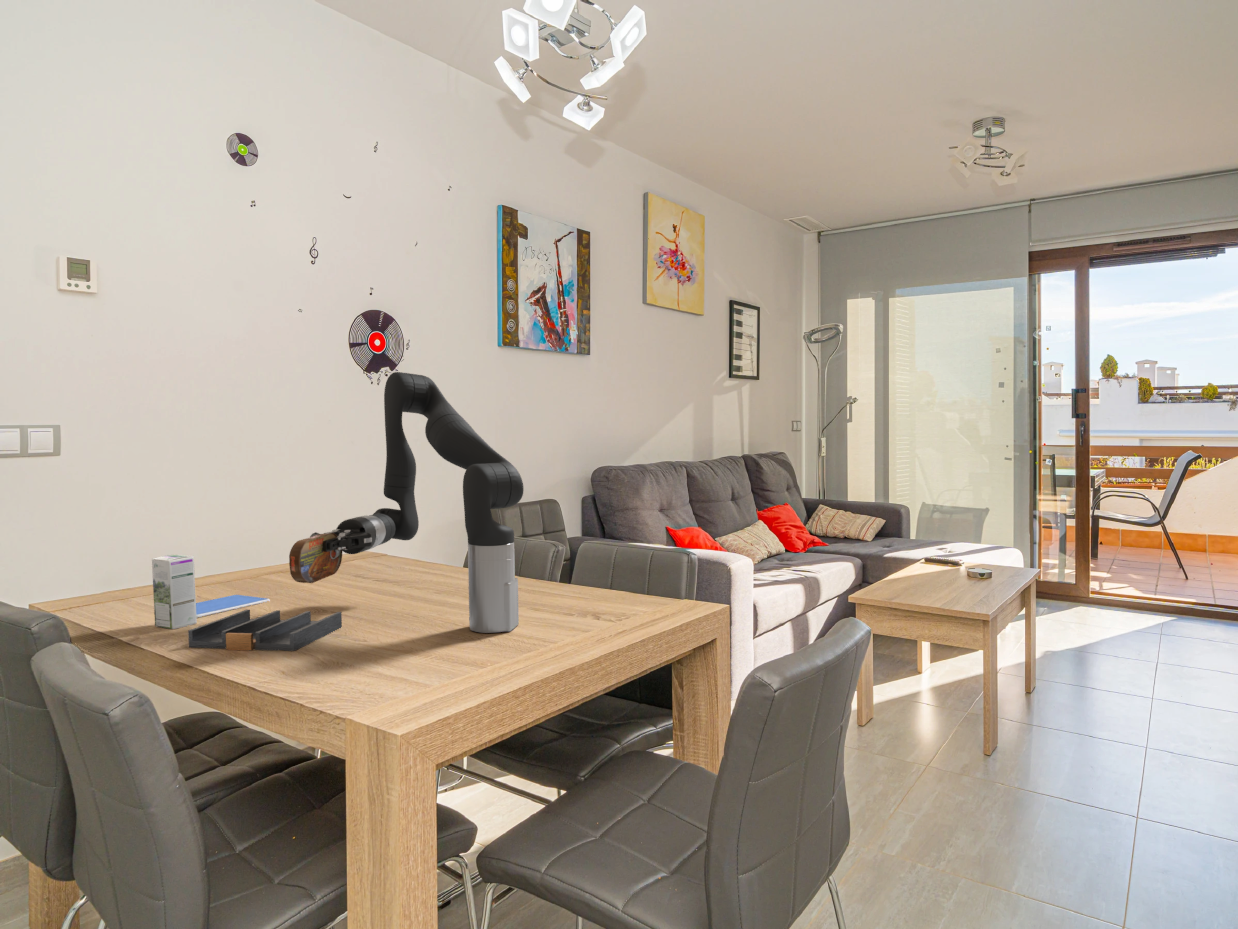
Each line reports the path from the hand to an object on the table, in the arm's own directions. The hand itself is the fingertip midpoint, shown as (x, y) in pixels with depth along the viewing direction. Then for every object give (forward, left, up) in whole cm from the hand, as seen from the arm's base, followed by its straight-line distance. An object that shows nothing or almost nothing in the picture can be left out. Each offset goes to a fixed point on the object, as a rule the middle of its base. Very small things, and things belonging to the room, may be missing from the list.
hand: (317, 546), depth 147 cm
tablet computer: (+38, -21, -18) cm, 47 cm away
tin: (0, +1, -6) cm, 6 cm away
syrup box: (+35, -4, -18) cm, 39 cm away
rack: (+9, +2, -18) cm, 20 cm away
